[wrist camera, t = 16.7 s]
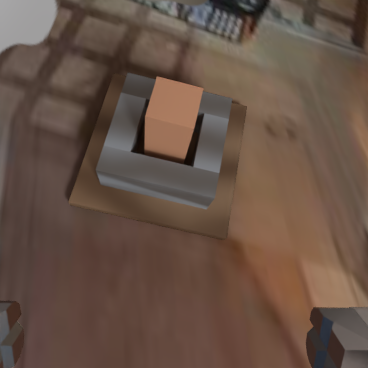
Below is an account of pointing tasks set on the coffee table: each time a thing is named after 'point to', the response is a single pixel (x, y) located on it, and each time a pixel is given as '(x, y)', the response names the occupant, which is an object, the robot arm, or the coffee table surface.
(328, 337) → the robot arm
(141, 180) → the well
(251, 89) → the coffee table surface
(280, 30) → the coffee table surface
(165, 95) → the post
